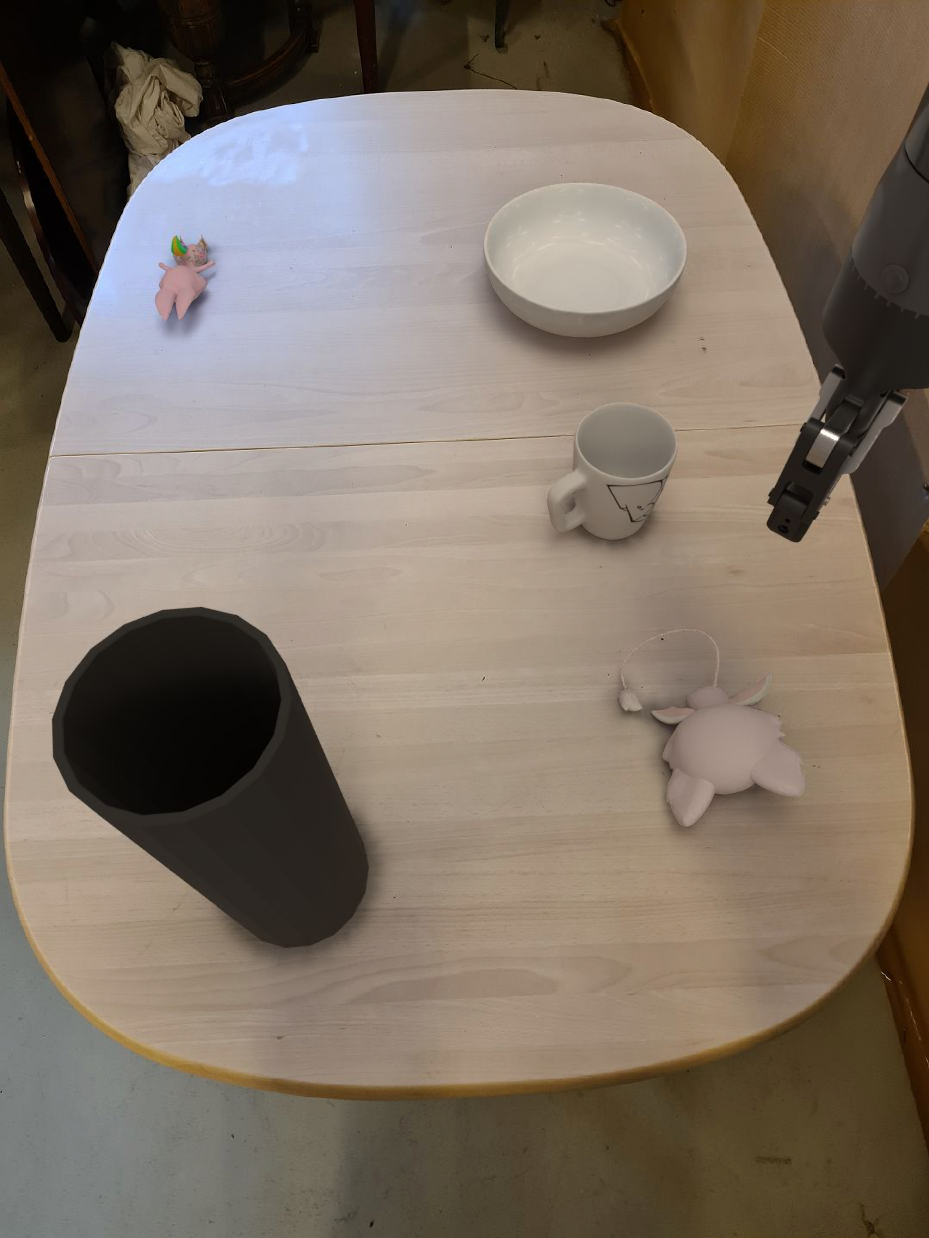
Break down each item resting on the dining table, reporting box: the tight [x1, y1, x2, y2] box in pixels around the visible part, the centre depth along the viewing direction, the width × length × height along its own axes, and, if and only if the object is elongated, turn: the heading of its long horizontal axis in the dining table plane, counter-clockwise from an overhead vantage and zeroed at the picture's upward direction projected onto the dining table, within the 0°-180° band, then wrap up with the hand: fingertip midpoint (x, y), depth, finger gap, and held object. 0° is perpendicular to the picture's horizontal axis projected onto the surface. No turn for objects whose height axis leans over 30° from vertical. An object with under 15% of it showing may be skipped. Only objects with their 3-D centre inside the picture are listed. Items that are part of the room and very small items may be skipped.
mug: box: [546, 401, 679, 541], centre depth 74 cm, size 11×8×10 cm
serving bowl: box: [482, 181, 688, 338], centre depth 90 cm, size 21×21×7 cm
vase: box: [51, 606, 370, 948], centre depth 50 cm, size 10×10×30 cm
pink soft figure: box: [154, 234, 216, 322], centre depth 92 cm, size 6×6×15 cm
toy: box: [618, 628, 807, 828], centre depth 64 cm, size 12×8×15 cm
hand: (816, 486), depth 52 cm, fingers open, 8 cm apart
